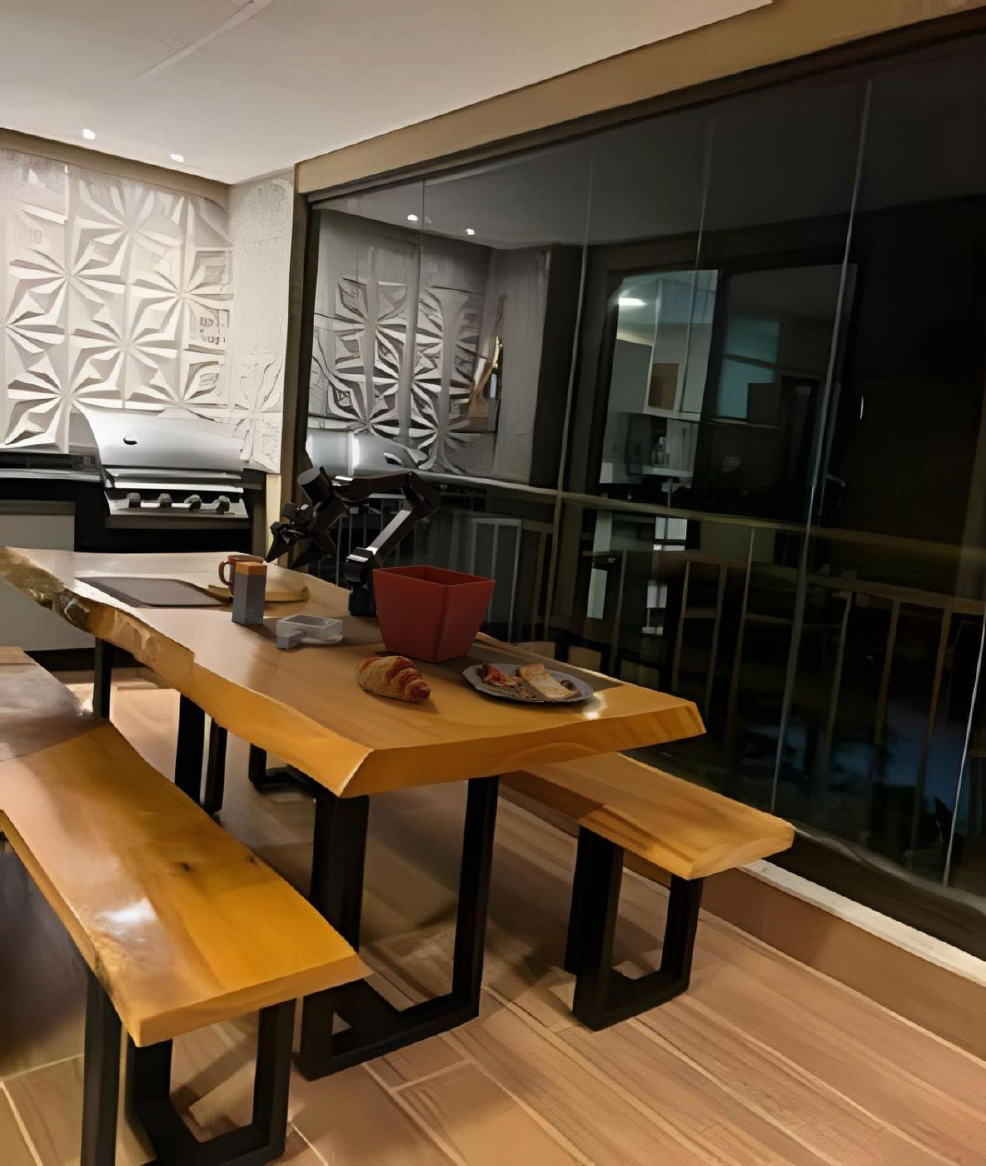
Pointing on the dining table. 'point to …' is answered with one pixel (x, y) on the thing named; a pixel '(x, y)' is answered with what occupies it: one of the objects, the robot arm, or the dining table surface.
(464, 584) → the plant pot
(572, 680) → the food plate
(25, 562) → the dining table surface
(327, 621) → the square socket
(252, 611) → the orange square peg
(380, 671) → the croissant
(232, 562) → the mug
